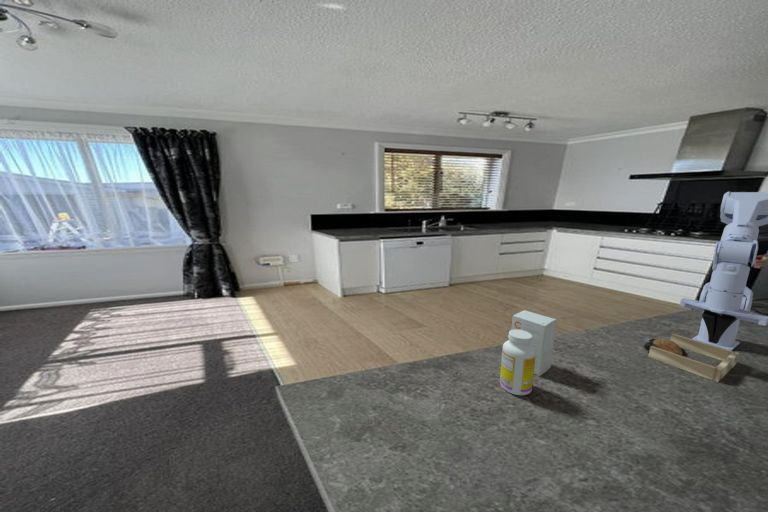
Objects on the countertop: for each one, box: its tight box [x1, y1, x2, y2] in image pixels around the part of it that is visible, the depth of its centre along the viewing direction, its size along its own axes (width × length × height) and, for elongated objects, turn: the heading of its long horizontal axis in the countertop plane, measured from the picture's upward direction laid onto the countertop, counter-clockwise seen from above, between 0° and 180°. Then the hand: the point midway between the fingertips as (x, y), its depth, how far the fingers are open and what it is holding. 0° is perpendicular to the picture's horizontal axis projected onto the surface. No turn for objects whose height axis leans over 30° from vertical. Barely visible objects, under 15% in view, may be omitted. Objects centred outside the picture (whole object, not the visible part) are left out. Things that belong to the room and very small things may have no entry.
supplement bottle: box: [499, 329, 536, 396], centre depth 66 cm, size 7×7×13 cm
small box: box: [510, 309, 557, 377], centre depth 75 cm, size 8×6×13 cm
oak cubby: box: [648, 333, 740, 383], centre depth 79 cm, size 16×13×3 cm
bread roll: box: [643, 338, 687, 357], centre depth 84 cm, size 11×8×4 cm
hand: (713, 341), depth 76 cm, fingers closed
